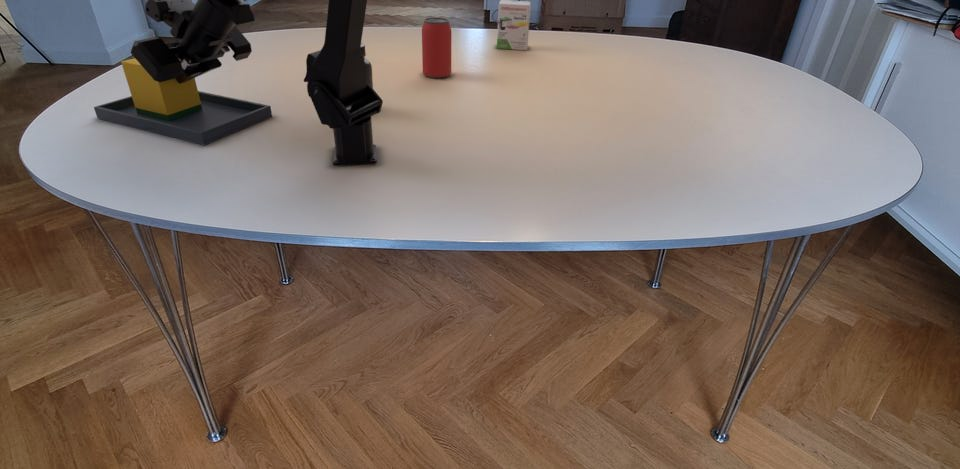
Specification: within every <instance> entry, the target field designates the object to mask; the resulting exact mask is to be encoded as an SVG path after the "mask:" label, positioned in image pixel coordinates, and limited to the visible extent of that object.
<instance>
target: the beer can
mask: <svg viewBox="0 0 960 469" xmlns="http://www.w3.org/2000/svg"><path fill="white" fill-rule="evenodd" d="M421 47H422V48H421V56H422V58H421V60H422V74H423V75H424V76H425V77H428V78H432V79H443V78H447V77H449V76H450V75H451V74H452V27H451V24H450V20H449V19H448V18H446V17H426V18H424V19H423V23H422V27H421Z"/></svg>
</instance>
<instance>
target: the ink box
mask: <svg viewBox="0 0 960 469" xmlns="http://www.w3.org/2000/svg"><path fill="white" fill-rule="evenodd" d="M531 6H532V3H531V2H530V1H527V0H526V1H525V0H499V2H498V10H497V11H498V12H497V29H496V30H497V33H496V35H497V36H496V49H502V50H517V51H528V46H529V35H530V34H529V33H530V21H531Z"/></svg>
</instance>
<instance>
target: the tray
mask: <svg viewBox="0 0 960 469" xmlns="http://www.w3.org/2000/svg"><path fill="white" fill-rule="evenodd" d="M198 93H199V98H200V102H201V106H202V110H199V111H196V112H193V113H190V114H187V115H185V116H182V117H179V118H176V119H173V120H170V121H168V120H164V119H159V118H155V117H151V116H147V115H143V114H138V113H137V111H136V108H135V105H134V102H133V99H132V95H131V96H126V97H124V98H119V99H117V100H116V99H115V100H113V101H110V102H106V103H103V104H99V105H96V106H93V110H94V112H95V114H96V118H97V119H98V120H102V121H105V122H110V123H113V124H117V125H121V126H126V127H130V128H132V129H137V130H140V131H146V132H150V133H153V134H157V135H162V136H166V137H170V138H174V139H177V140H181V141H186V142H190V143H194V144H197V145H201V146H206V145H208V144H210V143H214V142H216V141H219V140H221V139H223V138H226V137H228V136H230V135H232V134H235V133H237V132H239V131H243V130H244V129H247V128H250V127H251V126H254V125H256V124H260V123H262V122H264V121H266V120H269V119H270V118H273V114H272V113H273V112H272V108H271V105H268V104H264V103H258V102H254V101H248V100H243V99H241V98H240V99H239V98H235V97H229V96H224V95H221V94H215V93H210V92H205V91H201V90H198Z"/></svg>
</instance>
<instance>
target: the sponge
mask: <svg viewBox="0 0 960 469" xmlns="http://www.w3.org/2000/svg"><path fill="white" fill-rule="evenodd" d="M120 62H121V67H122V69H123V73H124V76H125V79H126V82H127V85H128V89H129V92H130V95H131V96H132V99H133V102H134V105H135V108H136V111H137V113H138V114H143V115H147V116H151V117H155V118H159V119H164V120H168V121H170V120H173V119H176V118H179V117H182V116H185V115H187V114H190V113H193V112H196V111H199V110H202V106H201V102H200V98H199V93H198V91H199V89H198V86H197V80H196V78H193V79H191V80H189V81H187V82H185V83H182V84H179V83H178V82H177V80H176V78H174V79H171V80H167V81H164V82H157V81H155V80H154V79H153V78H152V77H151V76H150V75H149V74H148V72H147V71H146V70H145V69H144V68H143V67H142V66H141V64H140V63H139V62H138V61H137V60H136V59H135V57H134V58H130V59H126V60H121V61H120Z"/></svg>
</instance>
